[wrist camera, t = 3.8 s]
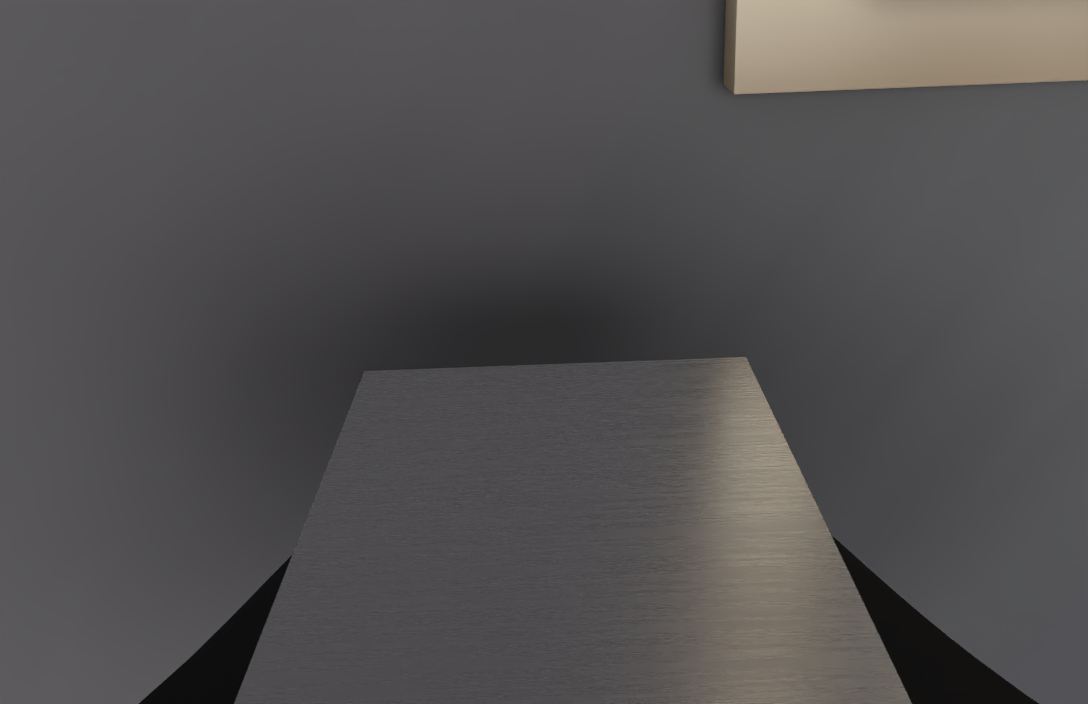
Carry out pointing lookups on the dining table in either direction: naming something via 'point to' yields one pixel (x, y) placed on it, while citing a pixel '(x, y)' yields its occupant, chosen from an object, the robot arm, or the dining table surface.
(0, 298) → the dining table surface
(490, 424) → the block
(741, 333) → the dining table surface
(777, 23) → the rail
